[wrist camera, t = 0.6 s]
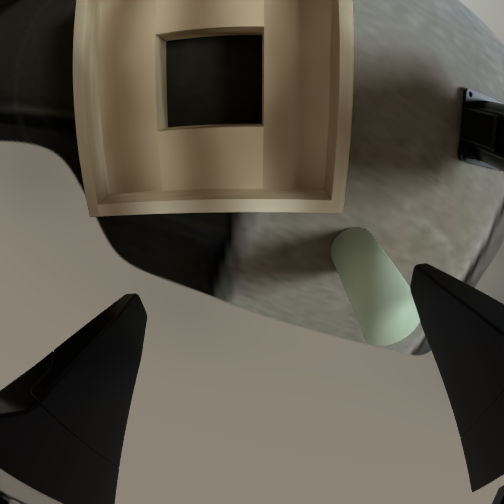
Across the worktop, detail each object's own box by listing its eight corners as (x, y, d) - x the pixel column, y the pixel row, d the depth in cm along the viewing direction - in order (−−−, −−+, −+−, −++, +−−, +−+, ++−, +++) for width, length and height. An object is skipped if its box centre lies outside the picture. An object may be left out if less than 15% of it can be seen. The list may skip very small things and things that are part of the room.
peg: (378, 227, 22) (431, 294, 15) (369, 268, 24) (410, 342, 17) (333, 226, 22) (373, 299, 15) (327, 269, 24) (356, 348, 17)
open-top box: (330, -14, 13) (349, -37, 9) (325, 190, 21) (342, 213, 17) (107, 0, 13) (78, -15, 9) (116, 193, 21) (89, 216, 17)
